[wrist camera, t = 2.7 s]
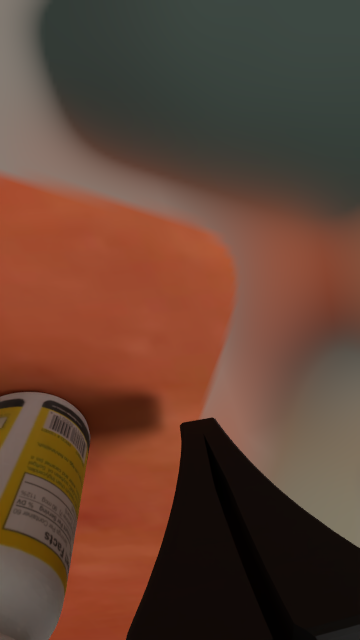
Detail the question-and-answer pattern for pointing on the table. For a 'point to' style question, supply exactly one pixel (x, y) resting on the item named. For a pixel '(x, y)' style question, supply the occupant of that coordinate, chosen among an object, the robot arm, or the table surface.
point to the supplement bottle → (38, 508)
